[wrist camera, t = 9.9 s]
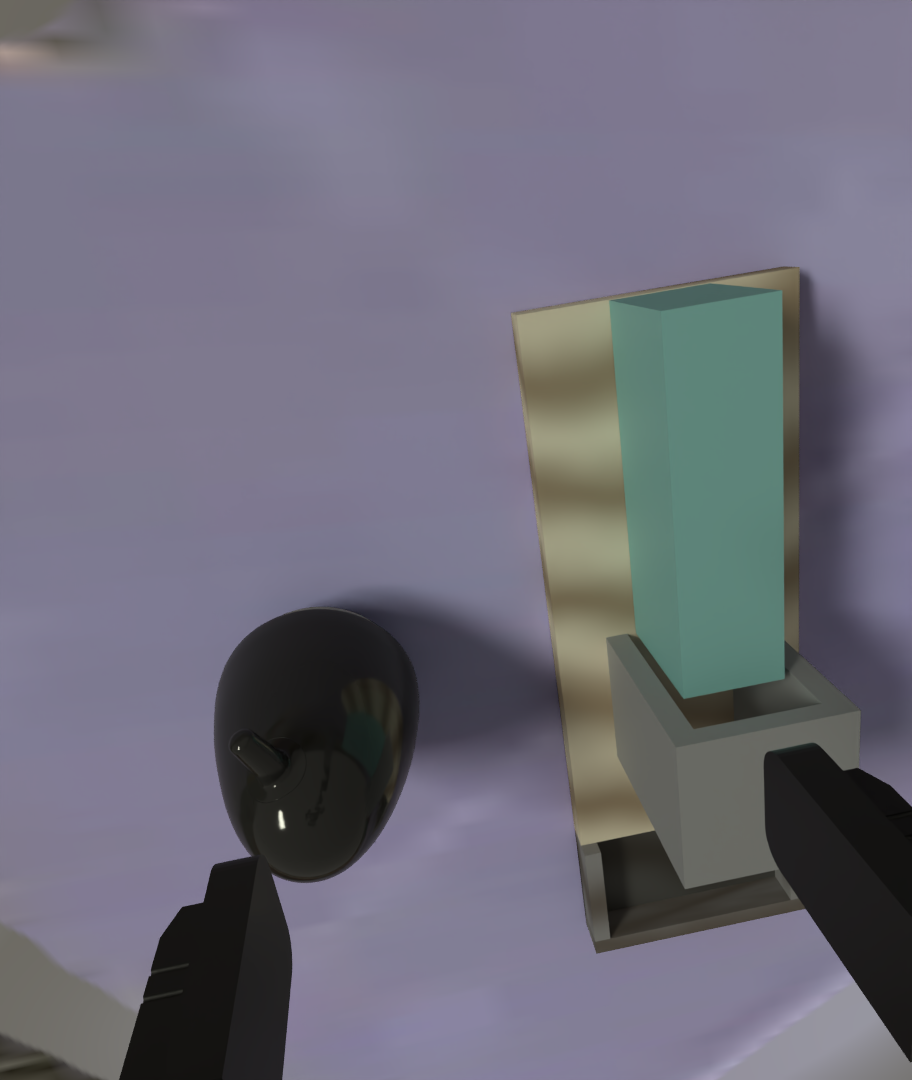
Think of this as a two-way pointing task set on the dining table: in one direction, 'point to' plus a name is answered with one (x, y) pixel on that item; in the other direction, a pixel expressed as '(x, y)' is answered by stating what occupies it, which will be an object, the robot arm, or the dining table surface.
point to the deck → (625, 613)
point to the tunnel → (719, 759)
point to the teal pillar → (704, 480)
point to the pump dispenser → (314, 739)
